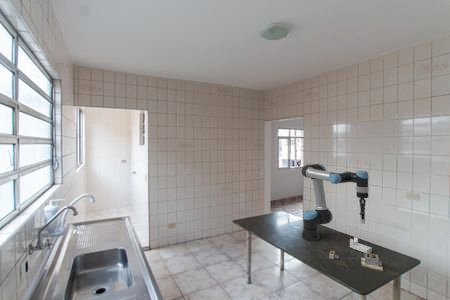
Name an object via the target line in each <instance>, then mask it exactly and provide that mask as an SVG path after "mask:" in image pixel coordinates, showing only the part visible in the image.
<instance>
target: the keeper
mask: <svg viewBox="0 0 450 300" xmlns="http://www.w3.org/2000/svg"><path fill="white" fill-rule="evenodd" d="M373 254H374V253H371V254H369V257H370V258H374V255H373ZM360 258H361V267H362V268H366V269H371V270H375V271H379V272H380V271H381V272H383V268H384V267H383V264H382V260H379V267H374V266H369V265H365V257H360Z"/></svg>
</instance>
